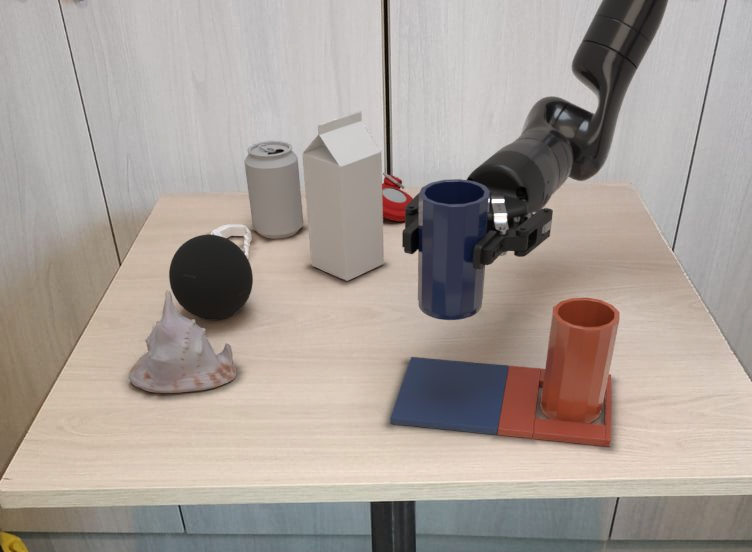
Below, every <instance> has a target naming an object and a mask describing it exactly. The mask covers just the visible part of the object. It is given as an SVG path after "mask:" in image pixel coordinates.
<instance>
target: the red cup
mask: <svg viewBox="0 0 752 552" xmlns="http://www.w3.org/2000/svg"><path fill="white" fill-rule="evenodd" d="M620 319H621V318H620V311H619V310H618V309H617V308H616V307H615V306H614V305H613V304H611V303H609V302H606V301H604V300H601V299H597V298H592V297H571V298H567V299H564V300H561V301H559V302H558V303H557V304H555V305H554V306H552V314H551V321H550V329H549V336H548V337H549V338H548V344H547V350H546V351H547V352H546V360H545V367H544V369H545V374H544V381H543V387H542V390H541V397H540V404H539V405H540V411H541V412H542V414H543V415H544V417H546V418H547V419H549V420H559V421H569V422H579V423H589V424H592V422H594V421H596V420H597V419H598V418H599V417H600V415H601V414H602V411H603V406H604V402H605V391H606V386H607V381H608V376H609V374H610V370H611V365H612V360H613V356H614V350H615V345H616V339H617V334H618V330H619V329H618V328H619V324H620Z"/></svg>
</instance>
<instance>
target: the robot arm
mask: <svg viewBox="0 0 752 552" xmlns="http://www.w3.org/2000/svg"><path fill="white" fill-rule="evenodd" d="M668 3H669V0H601V2H600V4H599V7H598V8H597V11H596V12H595V14H594V16H593V18H592V20H591V22H590V24H589V26H588V27H587V30H586V32H585V34H584V36H583V38H582V40H581V42H580V44H579V46H578V48H577V50H576V51H575V54H574V56H573V58H572V61H571V67H570V68H571V72H572V75H573V76H574V77H575V78H576V79H577V80H578V81H579V82H580V83H581V84H583V85H584V86H585V87H586V88H587V89H589V90H590V91H591V92H592V93H593V94H594V95H595V96H596V99H597V106H596V109H595V112H591V111H590V110H587V109H585V108H583V107H582V106H581V107H580V106H579V105H576V104H575V103H572V102H570V101H568V100H566V99H564V98H562V97H559V96H556V95H555V96H554V95H553V96H552V95H550V96H545V97H542V98H540V99H539V100H536V102H535V103H534V104H533V105H532V107H531V108H530V109H529V112H528V114H527V115H526V118H525V120H524V123H523V125H522V128H521V132H520V135H519V137H517V138H516V139H514V140H513V141H512V142H511V143H509V144H507V145H504V146H502V147H501V148H500V149H499V150H497V151H496V152H495V153H493V154H492V155H491V156H489V158H488V159H486V160H485V161H484V162H482V163H481V164H479V166H478V167H476V168H475V169H474V170H472V171H471V172H470V174H469V175H468V176H467V177H466V180H469V181H475V182H477V183H480V184H482V185H485V186H486V187H487V188H488V189H489V191H490V202H489V216H488V231H487V234H486V235H485V236H484V237H483V238H482V239H481V240H480V241H479V242H478V243H477V244H476V245H475V247H474V251H473V268H477V269H482V268H483V267H484V266H485V267H486V266H490V265H491V264H493V263H494V262H495V261H496V260H497V259H498V258H499V257H502V256H506V255H507V253H508V252H513V255H514V256H515V257H519V258H522V257H526V256H527V255H529V254H530V253H531V252H532V251H534V250H535V249H536V248H538V247H539V246H540V245H541V244H542V243H544V242H545V241H546V240H548V238H550V237H551V232H552V231H551V230H552V224H553V223H552V222H553V215H554V210H553V209H551V208H548V207H546V205H547V204H548V203H549V201H550V199H551V198H552V196H553V195H554V194H555V193H556V192H557V191H558V190H559V189H560V188H561V187H562V186H563V185H564V183H566V182H567V180H568V178H569V179H571V180H575V181H577V182H584V181H587V180H589V179H592V177H594V176H596V175H597V174H598V173H599V172H600V171H601V169H602V168H603V167H604V166H605V164H606V161H607V160H608V157H609V154H610V151H611V147H612V145H613V144H612V143H613V140H614V135H615V130H616V127H617V122H618V120H619V114H620V112H621V109H622V106H623V102H624V100H625V96H626V95H627V91H628V89H629V87H630V85H631V82H632V81H633V78H634V76H635V74H636V73H637V70H638V69H639V67H640V65H641V63H642V62H643V59H644V58H645V56H646V55H647V52H648V50H649V49H650V46H651V44H652V42H654V39H655V37H656V35H657V33H658V31H659V29H660V26H661V24H662V21H663V19H664V17H665V13H666V10H667V6H668ZM412 198H413V199H412V200H411V201H410V202H409V203H408V204H407V205H406V206H405V221H404V229H403V230H402V233H401V235H402V237H401V239H402V241H401V243H402V248H403V251H404V253H405V254H407V255H414V254H415V253H416V252H418V229H419V192H418V193H417V194H416V195H415V196H414V197H412Z"/></svg>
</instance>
